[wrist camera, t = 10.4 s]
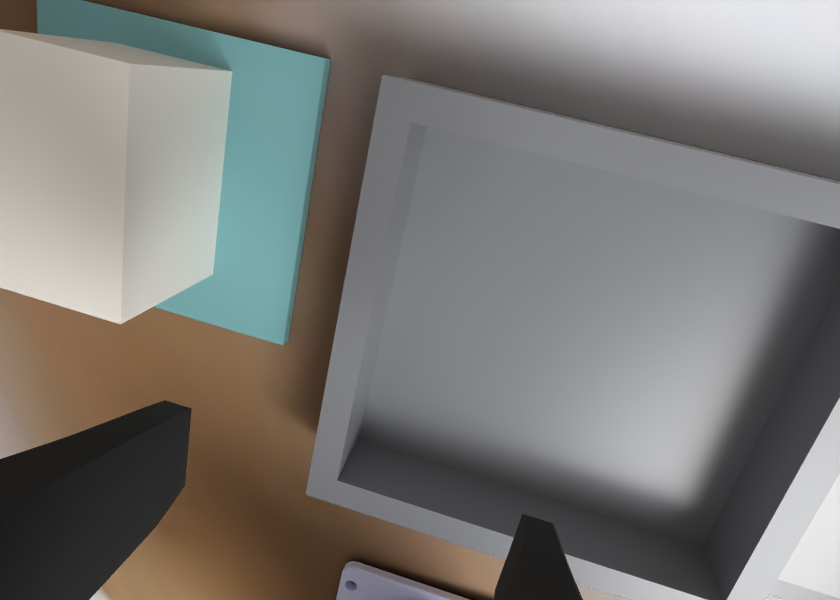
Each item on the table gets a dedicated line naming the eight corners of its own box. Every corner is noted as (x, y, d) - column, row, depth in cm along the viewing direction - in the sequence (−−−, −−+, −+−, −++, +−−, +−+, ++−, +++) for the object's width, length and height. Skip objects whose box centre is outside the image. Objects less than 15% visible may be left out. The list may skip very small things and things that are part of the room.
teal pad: (288, 340, 22) (283, 345, 22) (52, 270, 23) (42, 273, 23) (330, 59, 18) (325, 58, 18) (48, -9, 20) (36, -11, 19)
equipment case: (1163, 708, 20) (1263, 807, 17) (334, 447, 23) (305, 494, 20) (1533, 347, 15) (1760, 405, 12) (407, 78, 18) (382, 74, 15)
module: (212, 274, 21) (120, 324, 17) (113, 245, 22) (-4, 286, 17) (232, 71, 19) (129, 63, 14) (119, 43, 19) (-17, 26, 15)
